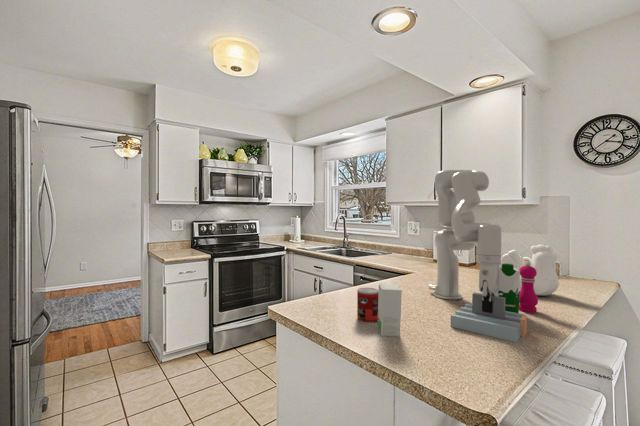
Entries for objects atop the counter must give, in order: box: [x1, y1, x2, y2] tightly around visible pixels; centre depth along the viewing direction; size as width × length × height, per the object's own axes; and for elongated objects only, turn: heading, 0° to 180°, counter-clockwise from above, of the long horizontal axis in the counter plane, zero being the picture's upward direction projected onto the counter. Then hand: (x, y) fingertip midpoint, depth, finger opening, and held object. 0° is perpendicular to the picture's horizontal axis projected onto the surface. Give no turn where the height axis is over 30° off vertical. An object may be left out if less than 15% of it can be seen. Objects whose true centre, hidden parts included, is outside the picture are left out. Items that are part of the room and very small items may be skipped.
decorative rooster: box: [499, 244, 560, 296], centre depth 156 cm, size 25×16×25 cm, turn 35°
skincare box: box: [377, 282, 403, 338], centre depth 105 cm, size 8×7×16 cm
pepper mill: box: [519, 261, 539, 314], centre depth 128 cm, size 7×7×20 cm
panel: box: [471, 292, 505, 320], centre depth 111 cm, size 10×2×9 cm, turn 49°
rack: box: [450, 303, 528, 343], centre depth 110 cm, size 21×18×6 cm
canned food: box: [356, 287, 379, 323], centre depth 117 cm, size 8×8×11 cm
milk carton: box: [494, 264, 520, 314], centre depth 124 cm, size 9×9×20 cm
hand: (488, 310), depth 111 cm, fingers closed on panel, 2 cm apart
